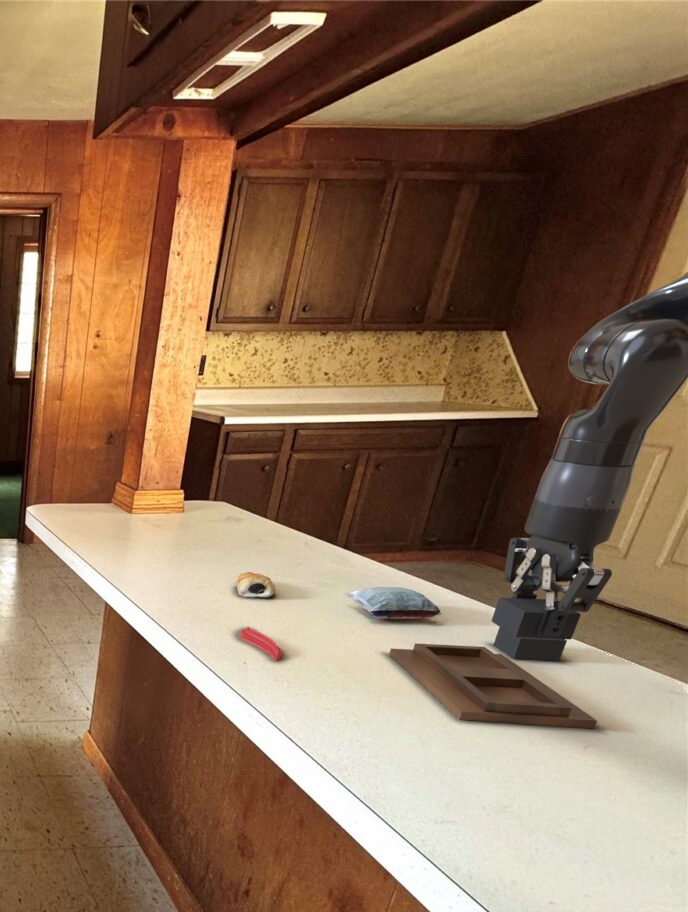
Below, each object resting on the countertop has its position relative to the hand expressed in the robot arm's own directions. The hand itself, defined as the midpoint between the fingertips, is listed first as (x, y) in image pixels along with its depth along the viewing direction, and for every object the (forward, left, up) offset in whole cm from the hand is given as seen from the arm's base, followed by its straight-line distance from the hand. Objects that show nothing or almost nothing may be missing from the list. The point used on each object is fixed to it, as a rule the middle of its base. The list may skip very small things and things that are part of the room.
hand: (530, 627), depth 85 cm
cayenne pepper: (+26, -16, -12) cm, 33 cm away
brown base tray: (0, -5, -12) cm, 13 cm away
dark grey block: (0, 0, 0) cm, 0 cm away
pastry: (+20, -41, -12) cm, 47 cm away
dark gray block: (-13, -18, -12) cm, 25 cm away
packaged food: (0, -32, -12) cm, 34 cm away
